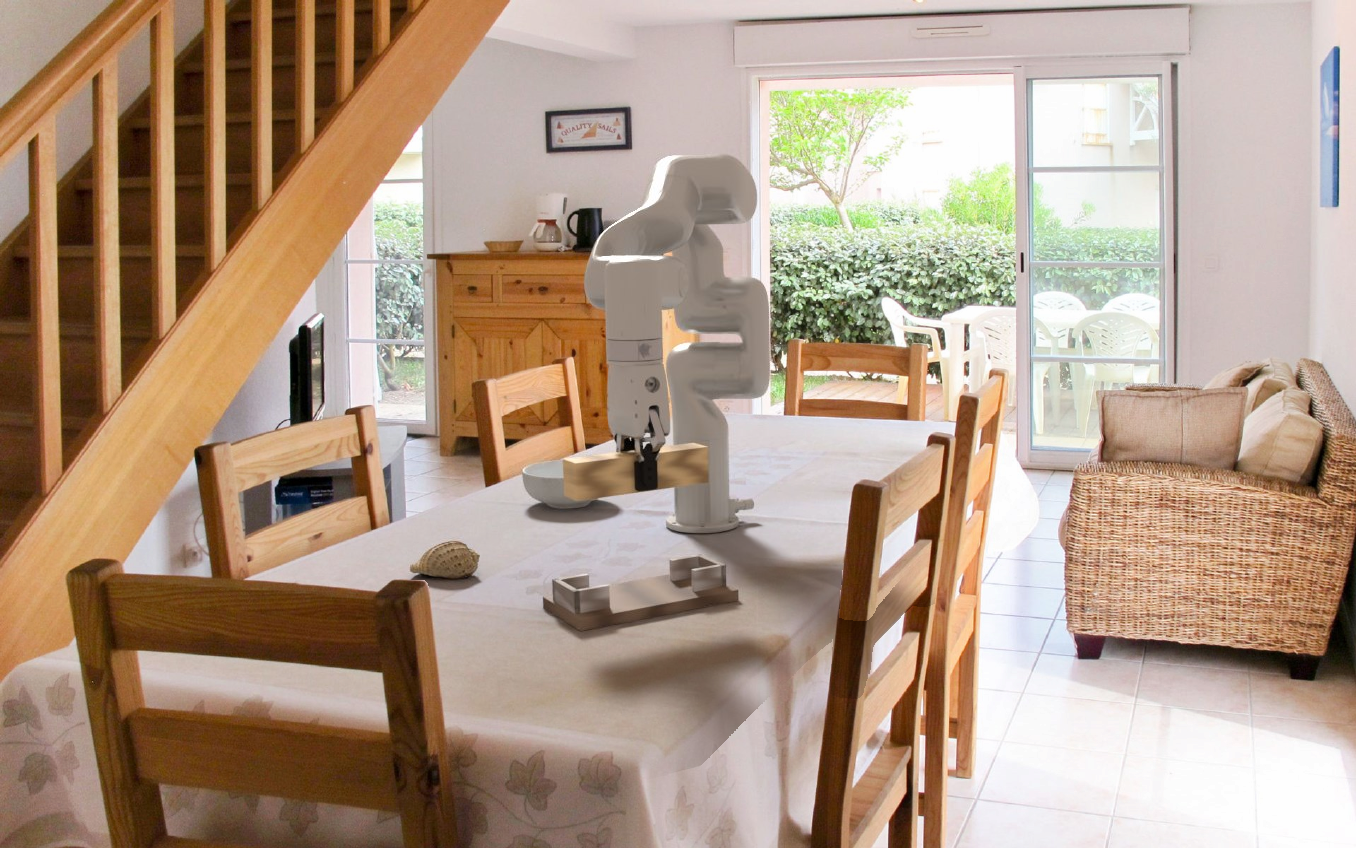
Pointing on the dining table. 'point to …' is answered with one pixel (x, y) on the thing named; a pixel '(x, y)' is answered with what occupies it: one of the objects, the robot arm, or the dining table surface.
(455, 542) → the seashell
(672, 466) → the slat
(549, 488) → the cereal bowl
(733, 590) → the endcap base
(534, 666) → the dining table surface
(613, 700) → the dining table surface
